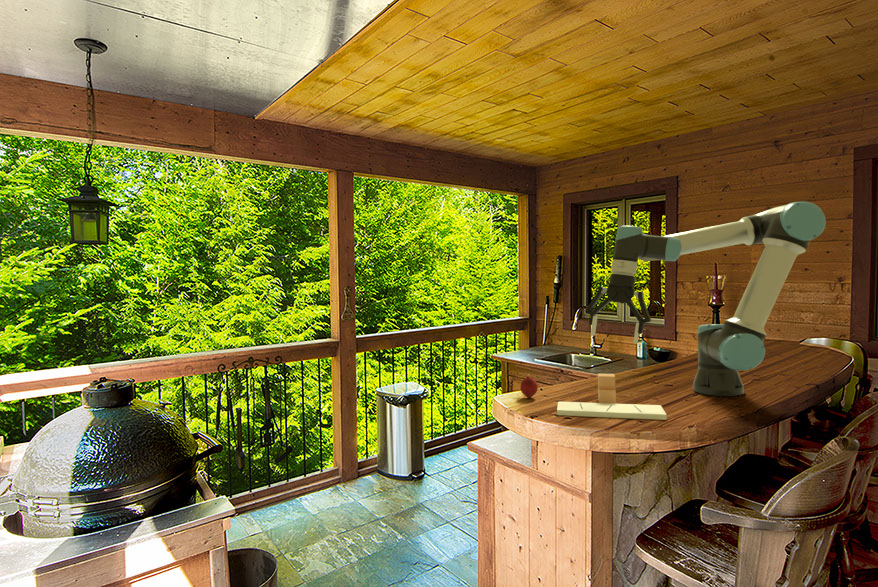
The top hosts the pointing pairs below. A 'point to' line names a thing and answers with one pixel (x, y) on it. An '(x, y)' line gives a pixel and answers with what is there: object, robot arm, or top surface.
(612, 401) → the block
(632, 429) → the top surface
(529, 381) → the onion
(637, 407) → the board
